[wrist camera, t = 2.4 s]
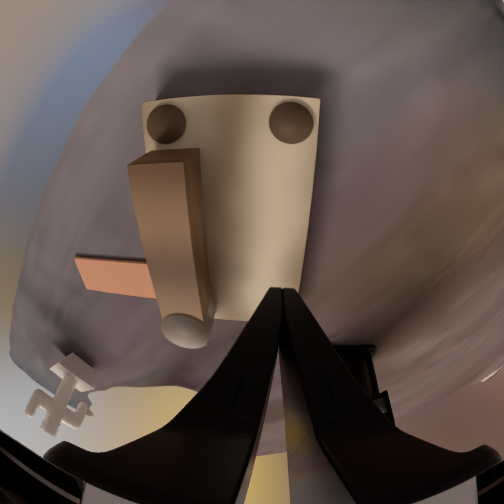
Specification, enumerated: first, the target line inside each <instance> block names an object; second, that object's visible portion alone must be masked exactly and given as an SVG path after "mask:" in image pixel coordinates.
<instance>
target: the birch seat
mask: <svg viewBox="0 0 504 504" xmlns="http://www.w3.org/2000/svg"><path fill="white" fill-rule="evenodd" d="M319 109H320V99H317V98H310V97H299V96H285V95H263V94H225V95H203V96H189V97H178V98H169V99H161V100H154V101H148V102H143V103H142V113H143V126H144V138H145V148H146V153H148V152H149V151H151V150H165V149H184V148H199V149H200V168H201V184H202V198H203V211H204V224H205V235H206V246H207V256H208V266H209V276H210V285H211V294H212V296H213V298H214V299H215V301H216V305H217V307H216V312H215V316H214V318H215V319H227V320H240V321H249V319H250V318H251V316H252V315H253V313H254V311H255V310H256V308H257V307H258V305H259V303H260V302H261V300H262V299H263V297H264V295H265V294H266V292H267V291H268V289H269V288H270V287H281V288H282V289H283V288H284V287H286V288H295V289H296V291H297V292H299V285H300V279H301V273H302V266H303V260H304V253H305V246H306V238H307V231H308V223H309V215H310V207H311V199H312V190H313V180H314V171H315V160H316V149H317V137H318V124H319Z"/></svg>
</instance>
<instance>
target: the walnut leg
mask: <svg viewBox="0 0 504 504" xmlns="http://www.w3.org/2000/svg"><path fill="white" fill-rule="evenodd" d="M127 166H128V173H129V179H130V185H131V191H132V197H133V202H134V208H135V213H136V218H137V223H138V227H139V232H140V237H141V241H142V245H143V250H144V254H145V258H146V262H147V266H148V270H149V273H150V277H151V281H152V284H153V288H154V292H155V295H156V298H157V302H158V305H159V308H160V312H161V315H162V318H163V322H162V324H161V330H162V333H163V334H164V336H165V337H166V338H167V339H168V340H170V341H171V342H172V343H174V344H176V345H179V346H181V347H185V348H201V347H203V346H208V343H209V338H210V334H211V330H212V325H213V321H214V316H215V312H216V307H217V305H216V301H215V299H214V298H213V296H212V294H211V285H210V276H209V266H208V256H207V246H206V235H205V224H204V211H203V198H202V184H201V168H200V149H199V148H184V149H165V150H151V151H149V152H148V153H146V154H145V155H143V156H141V157H140V158H138V159H137V160H135V161H133V162H132V163H130V164H129V165H127Z"/></svg>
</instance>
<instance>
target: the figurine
mask: <svg viewBox="0 0 504 504" xmlns="http://www.w3.org/2000/svg"><path fill="white" fill-rule="evenodd" d="M50 370H51V371H53V372H54V373H55V374H57V375H58V376H59V377H61V378H62V381H61V383H60V385H59V387H58V390H57V392H56V394H55V396H54V398H52V397H50V396H49V395H47V394H46V393H45V392H43V391H42V390H40V389H36V390H35V391H34V393H33V394H32V396H31V398H30V401H29V403H28V405H27V407H26V409H25V414H26V415H27V416H28V417H30V418H32V417H33V416H34V414H35V412H36V410H37V408H38V407H41V408H42V409H44V410H45V411H46V412H47V415H46V417H45V420H43V422H42V424H41V426H40V427H41V428H42V429H43V430H44V431H45V432H47V433H49V434H50V435H52V436H56V435H57V432H58V430H59V429H58V427H59V426H60V422H61V421H62V422H63V423H65V424H67V425H68V426H70V427H72V428H74V429H78V428H79V427H80V426H81V424H82V422H83V419H84V417H85V414H86V411H87V409H88V406H87V404H86V403H84V402H80V403H79V404H78V407H77V409H76V411H75V412H73V411H71V410H69V409H68V408H67V404H68V402H69V400H70V397H71V395H72V393H73V390H74V388H76V389H77V390H79V391H80V392H84V391H88V390H92V389H95V384H94V376H93V368H92V367H91V366H90V365H88V364H87V363H86V362H84V361H83V360H82V359H80V358H79V357H78V356H76V355H75V354H74V353H73V352H72V353H71V354H69V355H68V356H66V357H65V358H63V359H62V360H61V361H59V362H58V363H56V364H55V365H54V366H52V367H51V368H50Z"/></svg>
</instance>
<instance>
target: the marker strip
mask: <svg viewBox="0 0 504 504" xmlns="http://www.w3.org/2000/svg"><path fill="white" fill-rule="evenodd" d="M74 259H75V262H76V264H77V267H78V269H79V272H80V274H81V277H82V279H83V281H84V284H85V286H86V288H87V289H90V290H96V291H103V292H110V293H117V294H124V295H132V296H140V297H148V298H156V295H155V292H154V288H153V284H152V281H151V277H150V273H149V270H148V266H147V262H140V261H126V260H113V259H101V258H89V257H77V256H75V258H74Z"/></svg>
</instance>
